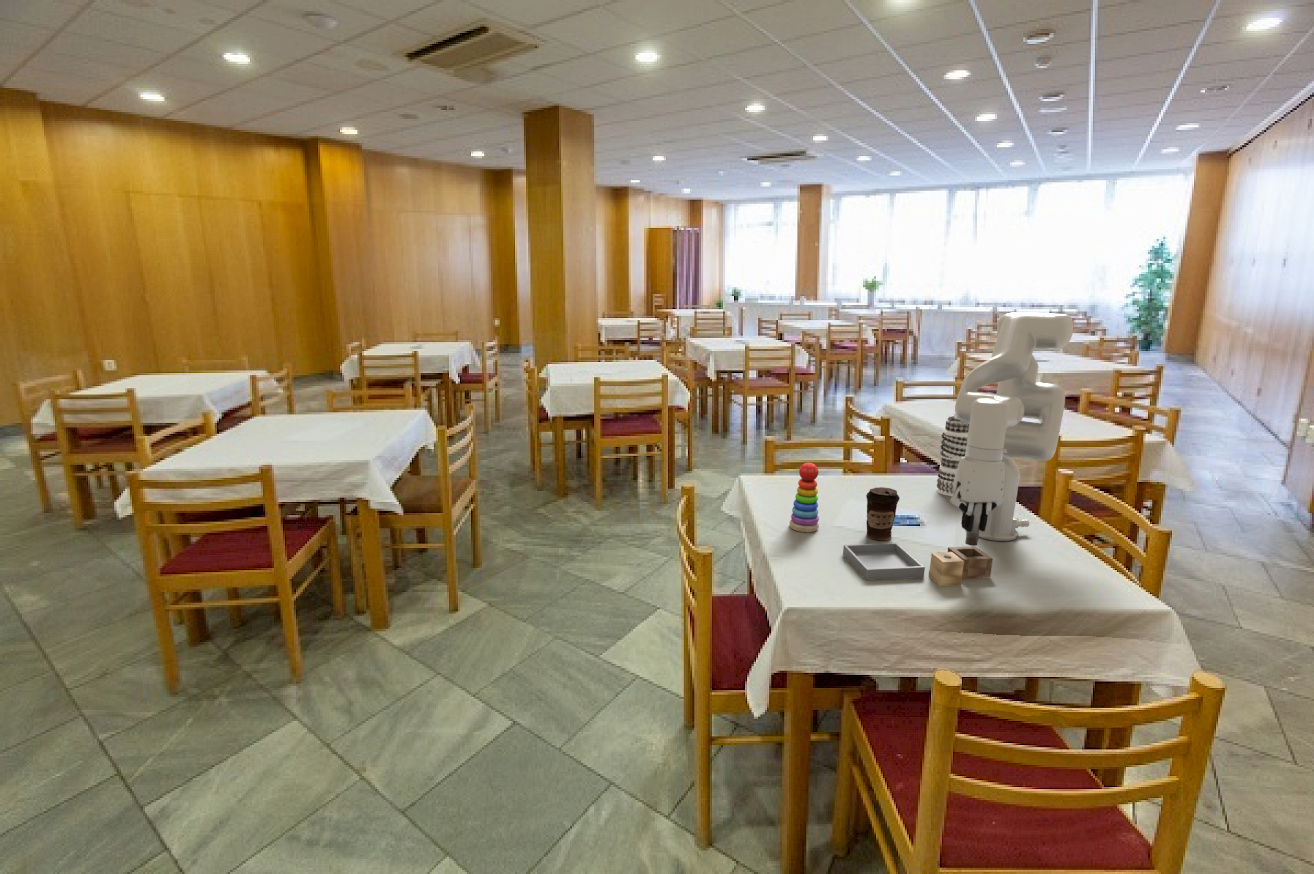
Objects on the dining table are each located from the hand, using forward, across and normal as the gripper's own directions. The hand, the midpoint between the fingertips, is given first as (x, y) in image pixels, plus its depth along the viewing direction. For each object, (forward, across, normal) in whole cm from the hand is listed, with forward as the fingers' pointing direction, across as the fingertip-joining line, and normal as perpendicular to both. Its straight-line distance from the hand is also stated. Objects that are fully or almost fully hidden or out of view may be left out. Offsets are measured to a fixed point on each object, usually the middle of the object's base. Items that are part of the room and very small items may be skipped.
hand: (973, 528), depth 155 cm
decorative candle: (+11, -27, -55) cm, 62 cm away
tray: (+11, +19, -5) cm, 22 cm away
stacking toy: (+11, +30, -30) cm, 44 cm away
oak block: (+11, +8, +4) cm, 14 cm away
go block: (+11, 0, 0) cm, 11 cm away
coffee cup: (+11, +12, -22) cm, 27 cm away
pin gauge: (+4, 0, 0) cm, 4 cm away
